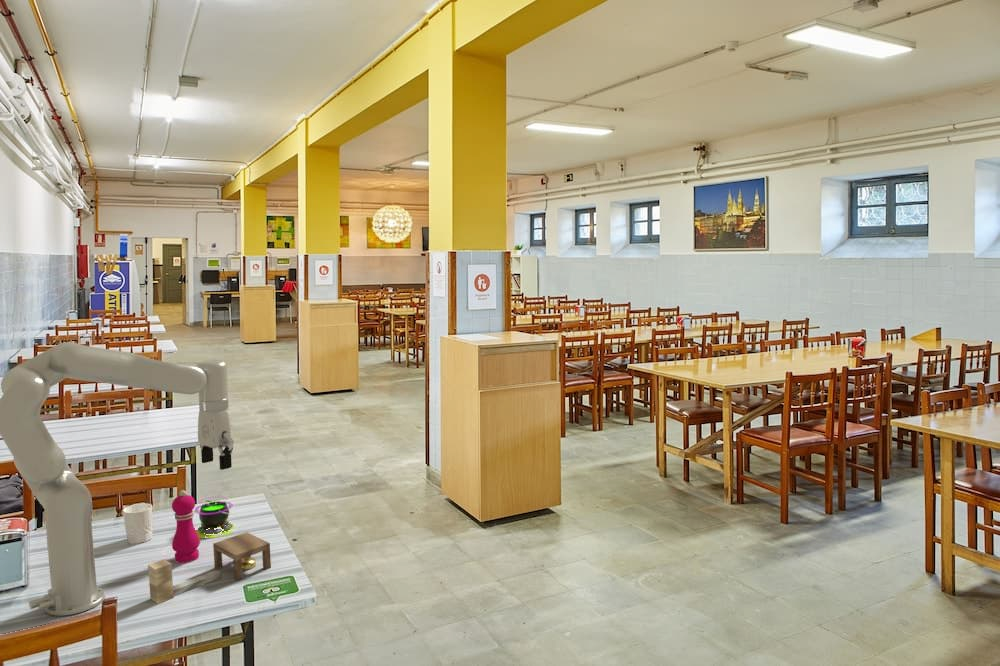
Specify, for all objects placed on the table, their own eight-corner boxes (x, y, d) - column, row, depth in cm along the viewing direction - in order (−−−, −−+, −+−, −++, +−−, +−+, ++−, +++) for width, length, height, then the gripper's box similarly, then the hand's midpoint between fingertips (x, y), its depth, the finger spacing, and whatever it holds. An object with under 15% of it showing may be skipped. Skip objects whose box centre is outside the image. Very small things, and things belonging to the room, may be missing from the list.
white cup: (159, 537, 213) (157, 506, 212) (134, 547, 206) (132, 514, 205) (145, 532, 217) (142, 501, 216) (120, 541, 211) (117, 509, 209)
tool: (157, 603, 173) (155, 569, 172) (150, 598, 175) (148, 564, 174) (222, 579, 186) (220, 546, 185) (214, 574, 188) (213, 542, 187)
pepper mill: (190, 564, 194) (185, 495, 192) (167, 562, 196) (162, 494, 193) (206, 553, 201) (201, 486, 199) (183, 551, 203) (179, 485, 200)
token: (242, 573, 190) (242, 566, 189) (233, 567, 193) (232, 561, 193) (259, 566, 193) (258, 560, 193) (249, 561, 197) (249, 555, 196)
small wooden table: (237, 580, 185) (235, 555, 184) (214, 567, 192) (213, 543, 192) (270, 567, 192) (269, 543, 191) (247, 555, 200) (246, 532, 199)
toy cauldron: (248, 528, 220) (247, 495, 218) (201, 543, 209) (199, 508, 208) (227, 516, 230) (225, 484, 229) (181, 529, 219) (179, 496, 218)
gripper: (185, 403, 196) (188, 462, 197) (217, 412, 185) (220, 474, 187) (210, 399, 201) (213, 456, 203) (243, 407, 190) (245, 468, 192)
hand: (216, 465), depth 195 cm, fingers open, 9 cm apart
